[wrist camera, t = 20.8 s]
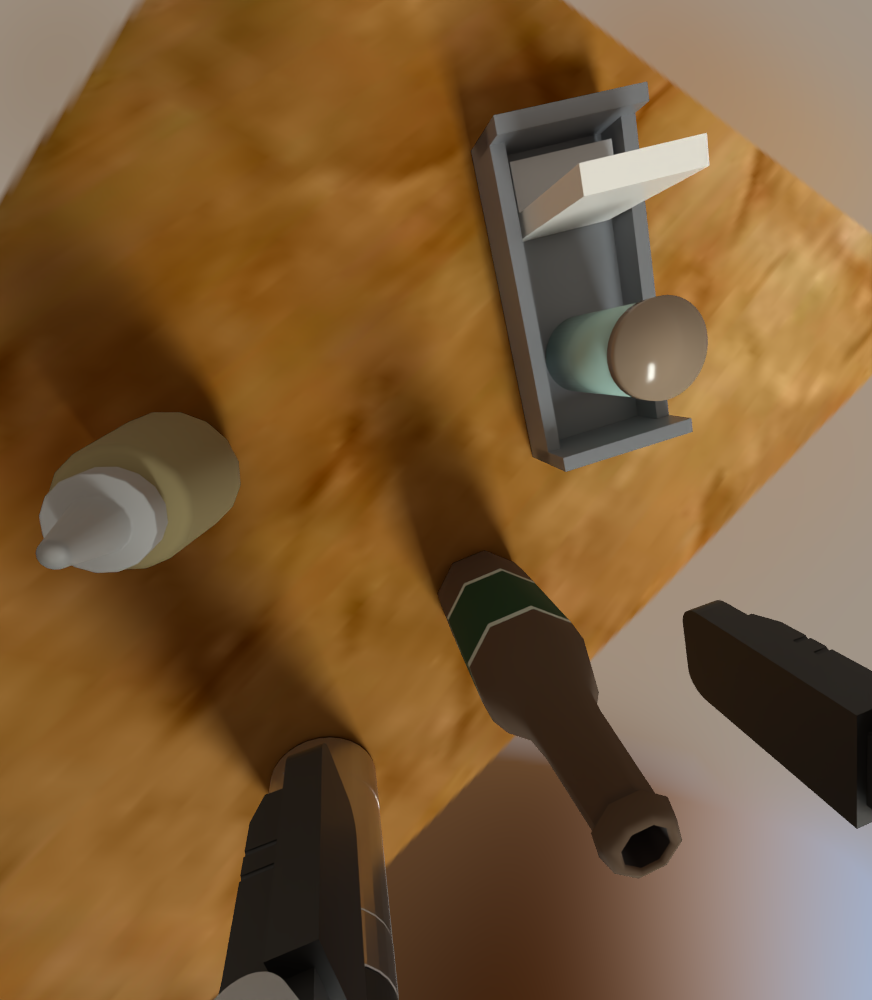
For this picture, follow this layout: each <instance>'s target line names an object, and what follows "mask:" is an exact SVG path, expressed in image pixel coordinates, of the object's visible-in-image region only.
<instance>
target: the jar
mask: <svg viewBox="0 0 872 1000" xmlns="http://www.w3.org/2000/svg"><path fill="white" fill-rule="evenodd" d="M707 346H708V336H707V330H706V326H705V323H704V320H703V318H702V316H701V314H700V313H699V311H698V310H697V309H696V307H695V306H693V305H692V304H691V303H690V302H689V301H687V300H685V299H683V298H681V297H678V296H673V295H662V296H657V297H653V298H648V299H645V300H642V301H639V302H637V303H634V304H629V305H624V306H620V307H615V308H610V309H606V310H601V311H596V312H592V313H587V314H582V315H578V316H573V317H571V318H568V319H566V320H565V321H563V322H562V323H561V324H560V325H558V326H557V328H556V329H555V330H554V331H553V333H552V335H551V336H550V338H549V341H548V344H547V348H546V364H547V368H548V371H549V373H550V375H551V377H552V378H553V380H554V381H555V382H556V383H557V384H558V385H559V386H561V387H562V388H564V389H566V390H569V391H575V392H585V393H595V394H606V395H616V396H626V397H633V398H635V399H640V400H649V401H663V400H667V399H670V398H673V397H675V396H677V395H679V394H680V393H682V392H683V391H685V390H686V389H687V388H688V387H689V386H690V385H691V384H692V383H693V382H694V380H695V379H696V377H697V376H698V374H699V373H700V371H701V369H702V366H703V364H704V361H705V358H706V353H707Z"/></svg>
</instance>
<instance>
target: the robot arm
mask: <svg viewBox="0 0 872 1000" xmlns="http://www.w3.org/2000/svg"><path fill="white" fill-rule="evenodd" d="M683 627H684V635H685V643H686V653H687V661H688V669H689V674H690V677H691V679H692V681H693V683H694V685H695V687H696V688H697V690H698V692H699V693H700V694H701V695H702V696H703V698H705V699H706V700H707V701H708V702H709V703H710V704H711V705H712V706H714V707H715V708H716V709H717V710H718V711H720V712H721V713H722V714H723V715H724V716H725V717H727V718H728V719H729V720H730V721H731V722H733V723H734V724H735V725H736V726H737V727H738V728H739V729H741V730H742V731H743V732H744V733H745V734H746V735H748V736H749V737H750V738H751V739H752V740H753V741H755V742H756V743H757V744H758V745H759V746H760V747H762V748H763V749H764V750H765V751H766V752H768V753H769V754H770V755H771V756H772V757H774V758H775V759H776V760H777V761H778V762H780V764H782V765H783V766H784V767H785V768H786V769H788V770H789V771H790V772H791V773H792V774H793V775H795V776H796V777H797V778H798V779H799V780H800V781H801V782H803V783H804V784H805V785H806V786H807V787H808V788H810V789H811V790H812V791H814V793H816V794H817V795H818V796H819V797H820V798H822V799H823V800H824V801H825V802H826V803H827V804H828V805H830V806H831V807H832V808H833V809H834V810H836V811H837V812H838V813H839V814H840V815H841V816H843V817H844V818H845V819H846V820H847V821H848V822H849V823H851V824H852V825H853V826H854V827H855V828H857V829H858V828H860V827H862V826H864V825H867V824H869V823H871V822H872V671H871V670H869V669H867V668H865V667H863V666H862V665H860V664H858V663H856V662H854V661H852V660H850V659H849V658H847V657H845V656H843V655H841V654H839V653H838V652H836V651H834V650H828V649H827V647H826V646H825V645H823V644H821V643H819V642H817V641H815V640H813V639H811V638H809V639H808V638H807V637H806V635H804V634H802V633H801V632H799V631H797V630H795V629H793V628H791V627H789V626H788V625H786V624H784V623H782V622H779V621H776V620H772V619H769V618H765V617H762V616H758V615H754V614H750V615H747V614H745V613H743V612H741V611H740V610H738V609H736V608H734V607H732V606H731V605H729V604H727V603H725V602H723V601H720V600H717V601H714V602H711V603H708V604H705V605H702V606H700V607H697V608H694V609H691V610H689V611H686V612H685V613H684V615H683ZM240 876H241V882H239V887H238V892H237V898H236V904H235V909H234V915H233V921H232V926H231V932H230V938H229V943H228V949H227V955H226V960H225V966H224V971H223V977H222V982H221V987H220V991H219V995H218V996H217V997H216V998H215V999H214V1000H399V998H398V989H397V978H396V968H395V959H394V948H393V941H392V931H391V921H390V911H389V902H388V892H387V882H386V871H385V861H384V851H383V841H382V832H381V822H380V812H379V800H378V791H377V781H376V772H375V766H374V763H373V761H372V758H371V757H370V756H369V754H368V753H367V752H366V751H365V750H364V749H363V748H362V747H361V746H359V745H357V744H355V743H353V742H352V741H349V740H345V739H341V738H331V737H328V738H318V739H314V740H310V741H307V742H305V743H303V744H300V745H298V746H296V747H295V748H293V749H292V750H290V751H289V752H288V753H286V754H285V756H284V757H283V758H282V759H281V760H280V761H279V762H278V764H277V765H276V767H275V769H274V771H273V774H272V777H271V781H270V787H269V794H266V795H265V796H264V798H263V800H262V801H261V803H260V805H259V807H258V809H257V811H256V812H255V814H254V816H253V818H252V820H251V822H250V824H249V830H248V836H247V841H246V847H245V857H244V858H243V864H242V870H241V875H240Z"/></svg>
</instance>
